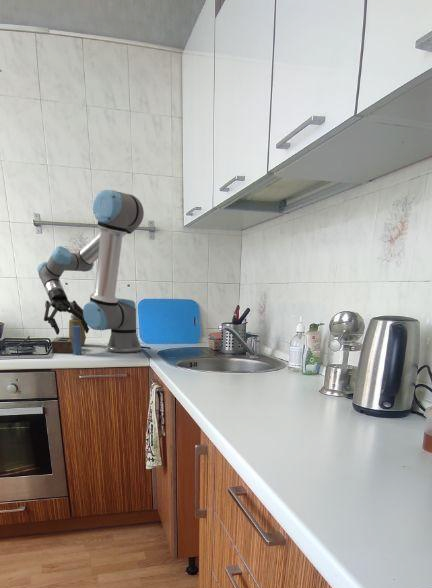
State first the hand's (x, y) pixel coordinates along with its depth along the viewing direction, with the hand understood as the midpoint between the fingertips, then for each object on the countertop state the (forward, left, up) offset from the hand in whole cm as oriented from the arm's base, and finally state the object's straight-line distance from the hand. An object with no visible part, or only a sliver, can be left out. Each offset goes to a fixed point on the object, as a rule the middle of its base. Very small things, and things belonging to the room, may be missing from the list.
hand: (73, 332), depth 205 cm
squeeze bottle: (+1, -24, -9) cm, 26 cm away
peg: (-2, +3, -9) cm, 10 cm away
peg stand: (+5, -7, -9) cm, 13 cm away
